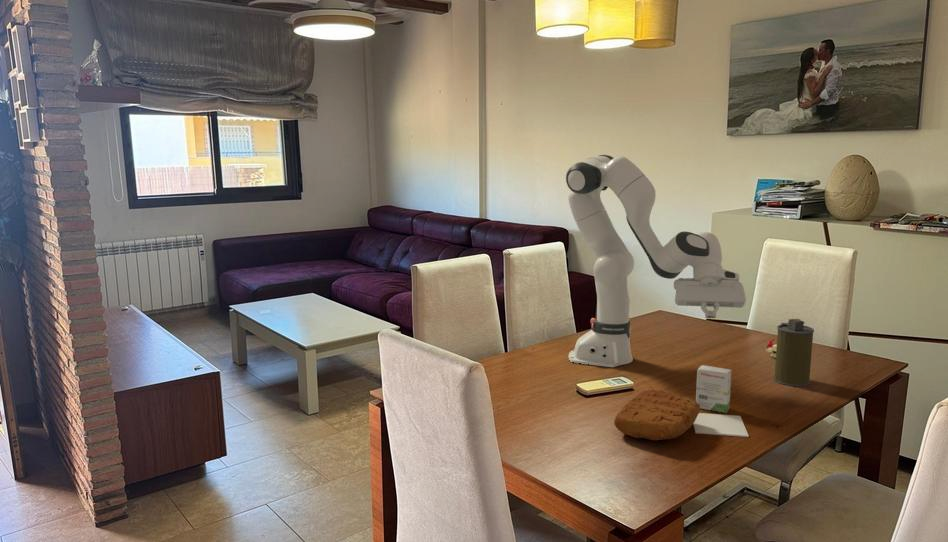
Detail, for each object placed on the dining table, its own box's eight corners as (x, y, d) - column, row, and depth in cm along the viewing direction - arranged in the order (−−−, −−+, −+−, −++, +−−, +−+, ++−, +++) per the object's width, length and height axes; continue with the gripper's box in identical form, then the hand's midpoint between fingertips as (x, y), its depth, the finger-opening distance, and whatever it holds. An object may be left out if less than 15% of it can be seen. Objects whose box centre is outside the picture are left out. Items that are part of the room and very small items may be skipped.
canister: (817, 385, 201) (822, 323, 197) (787, 387, 199) (791, 325, 196) (794, 373, 211) (799, 314, 208) (765, 376, 210) (769, 316, 206)
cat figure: (770, 345, 247) (763, 358, 226) (772, 322, 246) (765, 333, 225) (799, 348, 242) (794, 362, 221) (801, 326, 241) (796, 337, 220)
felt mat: (695, 433, 168) (695, 431, 168) (690, 413, 181) (690, 412, 181) (748, 437, 165) (748, 435, 165) (740, 417, 178) (740, 415, 178)
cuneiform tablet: (645, 410, 184) (646, 383, 182) (705, 425, 173) (706, 397, 171) (607, 436, 167) (608, 407, 166) (671, 455, 156) (672, 424, 155)
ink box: (730, 408, 184) (732, 368, 182) (726, 414, 180) (728, 373, 178) (699, 402, 189) (701, 363, 187) (695, 408, 185) (696, 368, 183)
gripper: (674, 272, 201) (675, 310, 193) (744, 274, 196) (748, 313, 188) (672, 283, 206) (673, 321, 198) (741, 285, 201) (744, 323, 193)
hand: (710, 317), depth 193 cm, fingers closed
